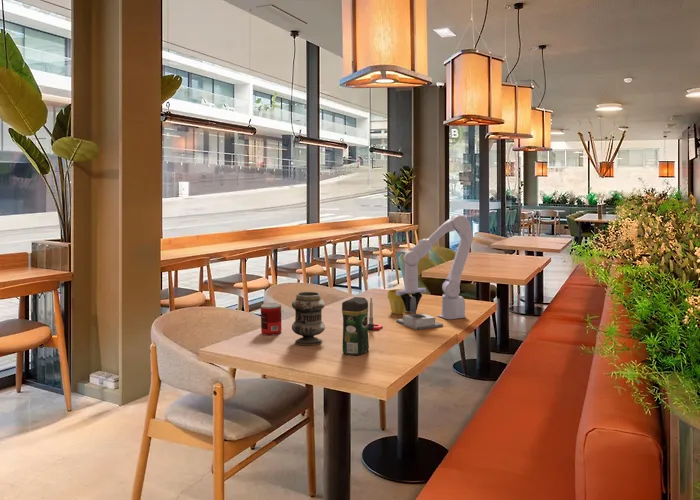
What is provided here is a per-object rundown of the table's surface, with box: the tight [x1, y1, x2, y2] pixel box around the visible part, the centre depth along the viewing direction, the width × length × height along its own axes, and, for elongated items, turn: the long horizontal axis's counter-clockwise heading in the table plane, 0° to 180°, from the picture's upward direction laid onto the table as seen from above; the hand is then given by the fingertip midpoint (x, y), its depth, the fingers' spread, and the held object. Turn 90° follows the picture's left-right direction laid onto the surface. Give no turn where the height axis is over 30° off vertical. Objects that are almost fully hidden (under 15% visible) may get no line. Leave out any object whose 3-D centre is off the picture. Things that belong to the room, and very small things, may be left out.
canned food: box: [260, 302, 283, 336], centre depth 220 cm, size 8×8×11 cm
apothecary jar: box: [291, 290, 326, 347], centre depth 206 cm, size 12×12×18 cm
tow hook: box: [368, 297, 383, 331], centre depth 228 cm, size 8×13×9 cm
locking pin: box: [406, 296, 417, 314], centre depth 246 cm, size 3×3×8 cm
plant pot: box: [387, 288, 411, 315], centre depth 256 cm, size 10×10×10 cm
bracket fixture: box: [395, 312, 444, 331], centre depth 233 cm, size 12×16×4 cm
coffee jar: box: [341, 296, 370, 356], centre depth 193 cm, size 10×8×19 cm
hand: (411, 310), depth 246 cm, fingers closed on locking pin, 3 cm apart
